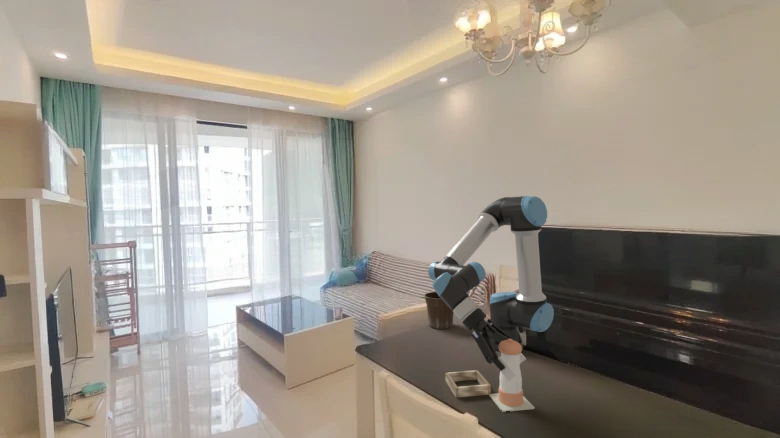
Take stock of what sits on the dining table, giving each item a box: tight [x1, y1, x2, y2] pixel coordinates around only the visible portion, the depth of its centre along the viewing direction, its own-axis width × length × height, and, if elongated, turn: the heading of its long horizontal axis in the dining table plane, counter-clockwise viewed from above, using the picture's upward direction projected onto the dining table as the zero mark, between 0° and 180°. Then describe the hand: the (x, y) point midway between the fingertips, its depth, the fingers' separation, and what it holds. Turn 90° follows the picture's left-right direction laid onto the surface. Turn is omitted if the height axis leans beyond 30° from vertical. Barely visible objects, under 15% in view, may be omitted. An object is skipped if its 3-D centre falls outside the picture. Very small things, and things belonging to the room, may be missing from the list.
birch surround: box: [445, 369, 492, 399], centre depth 126 cm, size 12×12×3 cm
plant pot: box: [423, 291, 454, 330], centre depth 193 cm, size 16×16×16 cm
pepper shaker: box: [498, 338, 524, 406], centre depth 116 cm, size 7×7×19 cm
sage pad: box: [488, 392, 535, 413], centre depth 116 cm, size 10×10×1 cm
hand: (518, 369), depth 114 cm, fingers open, 13 cm apart
